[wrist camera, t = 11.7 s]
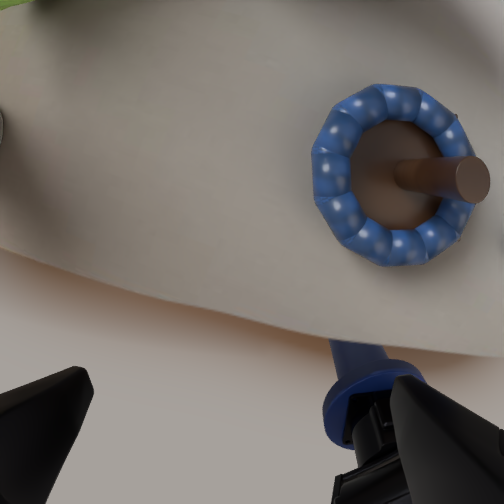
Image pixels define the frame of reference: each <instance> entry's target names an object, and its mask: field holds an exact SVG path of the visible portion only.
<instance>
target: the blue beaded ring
mask: <svg viewBox="0 0 504 504" xmlns="http://www.w3.org/2000/svg"><path fill="white" fill-rule="evenodd" d="M384 120H397V121H410V122H412V123H413V124H415V125H416V126H418V127H419V128H421V129H422V130H424V131H425V132H426V133H428V134H429V135H430V136H432V137H433V139H434V141H435V143H436V144H437V146H438V148H439V150H440V152H441V154H442V156H443V157H455V156H475V157H476V155H475V152H474V150H473V148H472V146H471V144H470V142H469V140H468V138H467V136H466V134H465V132H464V130H463V128H462V126H461V124H460V122H459V120H458V118H457V117H456V115H455V114H454V113H452V112H451V111H450V110H449V109H447V108H446V107H445V106H443V105H442V104H441V103H439V102H438V101H437V100H435V99H434V98H433V97H431V96H430V95H428V94H427V93H425V92H424V91H423V90H421V89H419V88H415V87H407V86H398V85H387V84H373V85H370V86H368V87H366V88H364V89H363V90H361V91H359V92H357V93H355V94H353V95H352V96H350V97H348V98H346V99H345V100H343V101H341V102H339V103H338V104H336V105H335V106H334V107H333V108H332V110H331V111H330V113H329V115H328V117H327V119H326V121H325V123H324V125H323V127H322V129H321V131H320V133H319V135H318V137H317V139H316V141H315V143H314V145H313V147H312V151H311V158H312V175H313V194H314V201H315V204H316V205H317V207H318V209H319V210H320V212H321V213H322V215H323V217H324V218H325V220H326V222H327V223H328V225H329V227H330V228H331V230H332V232H333V233H334V235H335V237H336V238H337V240H338V241H339V243H340V244H341V245H343V246H344V247H346V248H348V249H350V250H351V251H353V252H355V253H357V254H359V255H361V256H362V257H364V258H366V259H368V260H370V261H371V262H373V263H375V264H377V265H379V266H382V267H390V266H407V265H422V264H425V263H427V262H429V261H430V260H431V259H433V258H434V257H436V256H437V255H439V254H440V253H441V252H443V251H444V250H446V249H447V248H448V247H450V246H451V245H452V244H454V243H455V242H456V241H457V240H458V239H459V238H460V236H461V234H462V232H463V230H464V228H465V226H466V224H467V222H468V220H469V218H470V215H471V213H472V211H473V209H474V207H475V204H472V203H467V202H462V201H457V200H453V199H448V198H443V199H442V201H441V203H440V205H439V207H438V209H437V211H436V213H435V215H434V216H433V217H431V218H430V219H428V220H427V221H425V222H424V223H423V224H421V225H420V226H418V227H417V228H415V229H406V230H389V229H387V228H386V227H384V226H382V225H381V224H379V223H377V222H375V221H374V220H372V219H370V218H369V217H367V216H366V214H365V213H364V211H363V209H362V207H361V206H360V204H359V202H358V200H357V199H356V197H355V195H354V194H353V192H352V188H351V166H350V158H351V156H352V154H353V152H354V150H355V148H356V146H357V144H358V142H359V140H360V138H361V136H362V134H363V133H364V132H366V131H367V130H369V129H371V128H372V127H374V126H376V125H377V124H379V123H381V122H382V121H384Z"/></svg>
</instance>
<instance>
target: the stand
mask: <svg viewBox="0 0 504 504" xmlns="http://www.w3.org/2000/svg"><path fill="white" fill-rule="evenodd" d="M455 115H456V117H457V118H458V116H457V114H455ZM350 166H351V188H352V192H353V194H354V195H355V197H356V199H357V200H358V202H359V204H360V206H361V207H362V209H363V211H364V213H365V214H366V216H367V217H369V218H370V219H372V220H374V221H375V222H377V223H379V224H381V225H382V226H384V227H386V228H387V229H389V230H406V229H415V228H417V227H418V226H420V225H421V224H423V223H424V222H425V221H427V220H428V219H430V218H431V217H433V216H434V215H435V213H436V211H437V209H438V207H439V205H440V203H441V201H442V199H443V198H448V199H453V200H457V201H462V202H467V203H472V204H476V203H479V202H481V201H482V200H483V199H484V198H485V197H486V196H487V194H488V191H489V188H490V175H489V171H488V169H487V167H486V165H485V164H484V162H483V161H482V160H481V159H479V158H478V157H475V156H455V157H443V156H442V154H441V152H440V150H439V148H438V146H437V144H436V143H435V141H434V139H433V137H432V136H430V135H429V134H428V133H426V132H425V131H424V130H422V129H421V128H419V127H418V126H416V125H415V124H413V123H412V122H410V121H397V120H384V121H382V122H381V123H379V124H377V125H376V126H374V127H372V128H371V129H369V130H367V131H366V132H364V133H363V134H362V136H361V138H360V140H359V142H358V144H357V146H356V148H355V150H354V152H353V154H352V156H351V158H350ZM457 241H460V238H459V239H458V240H457Z"/></svg>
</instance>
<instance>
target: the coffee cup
mask: <svg viewBox="0 0 504 504" xmlns="http://www.w3.org/2000/svg"><path fill="white" fill-rule="evenodd" d="M2 135H3V119H2V115H1V112H0V145H1V141H2Z"/></svg>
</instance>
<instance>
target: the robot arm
mask: <svg viewBox="0 0 504 504" xmlns="http://www.w3.org/2000/svg"><path fill="white" fill-rule="evenodd" d="M93 395H94V389H93V386H92V383H91V381H90V378H89V375H88V372H87V370H86V369H85V368H82V367H78V366H72V367H70V368H67V369H65V370H63V371H60V372H57V373H55V374H52V375H49V376H47V377H44V378H42V379H39V380H36V381H34V382H31V383H29V384H26V385H23V386H21V387H18V388H15V389H13V390H10V391H7V392H4V393H2V394H0V504H46V501H47V499H48V496H49V494H50V492H51V490H52V488H53V486H54V483H55V481H56V479H57V477H58V475H59V473H60V470H61V468H62V466H63V464H64V462H65V460H66V458H67V456H68V454H69V452H70V450H71V448H72V446H73V444H74V442H75V439H76V438H77V436H78V433H79V431H80V429H81V426H82V423H83V421H84V418H85V416H86V413H87V410H88V408H89V405H90V403H91V400H92V398H93ZM353 399H356V400H353ZM342 443H343V444H344V445H352V444H354V448H355V453H356V459H357V463H358V468H357V469H354V470H352V471H350V472H347V473H345V474H340V475H338V476H335V482H334V488H333V495H332V501H331V504H504V430H503V429H500V430H499V427H497V426H495V425H494V424H492V423H490V422H489V421H487V420H485V419H484V418H482V417H480V416H479V415H477V414H475V413H474V412H472V411H470V410H469V409H467V408H465V407H464V406H462V405H460V404H458V403H457V402H455V401H454V400H452V399H450V398H449V397H447V396H445V395H444V394H442V393H440V392H439V391H437V390H436V389H434V388H432V387H431V386H429V385H427V384H426V383H424V382H422V381H421V380H419V379H418V378H416V377H414V376H413V375H411V374H406V375H399V376H397V377H396V378H395V381H394V385H393V389H389V390H381V391H373V392H365V393H355V394H352V395H351V396H350V397H349V399H348V406H347V413H346V419H345V425H344V431H343V437H342Z"/></svg>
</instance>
